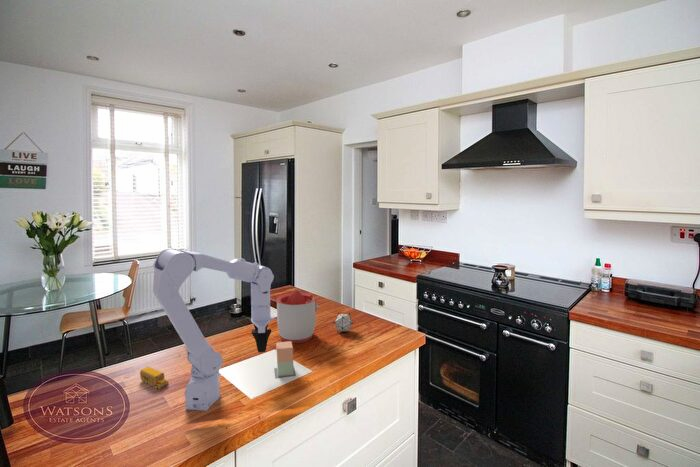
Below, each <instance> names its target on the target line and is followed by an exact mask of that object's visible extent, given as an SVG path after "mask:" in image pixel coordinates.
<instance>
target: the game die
mask: <svg viewBox="0 0 700 467" xmlns="http://www.w3.org/2000/svg"><path fill="white" fill-rule="evenodd" d="M332 323H333V324H334V325H335V327H336V329H337V331H336V334H338V333H339V332H344V333H345V332H347V333H348V334H350V329H351V327H352V325H354V324H355V322H353V321H352V318H351V312H349V313H339V312H337V317H336V318H335V320H334V321H332Z"/></svg>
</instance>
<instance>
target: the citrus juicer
mask: <svg viewBox="0 0 700 467" xmlns="http://www.w3.org/2000/svg"><path fill="white" fill-rule="evenodd" d="M275 301H276V322H277V330H278V333H279V336H280V339H281V340H282V342H288V341H291V342H292V344H301V343H302V344H303V343H306V342H308V341H310V340H311V339H312V337H313V335H314V333H315V332H314V331H315V327H316V319H317V318H316V317H317V316H316V312H317V310H321V307H320V306H319V305H318V303H317V298H314V299H313V294H312V293H309V292H301V291H298V290H294V291H293V292H289V293H284V294H280V295H278V296H277V297H276V299H275Z"/></svg>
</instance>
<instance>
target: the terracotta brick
mask: <svg viewBox="0 0 700 467" xmlns="http://www.w3.org/2000/svg"><path fill="white" fill-rule="evenodd" d="M275 344H276V346H275V348H276V349H275V350H276V356H277V363H281V362H290V361H293V360H294V347H293V343H292V342H291V341H288V342H285V341H280V342H275Z"/></svg>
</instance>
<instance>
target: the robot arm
mask: <svg viewBox="0 0 700 467" xmlns="http://www.w3.org/2000/svg"><path fill="white" fill-rule="evenodd" d="M152 266H153V270H154V274H153V285H152V286H153V287H152V291H153V292H152V293H153V294H154V296H155V298H156V299H157V301H158V302H159V304H160V306H161V308H162V310H163V311H164V313H165V314H166V316H167V317H168V319H169V321H170V323H171V324H172V325H173V327H174V329H175V331H176V332H177V335H178V336H179V338H180V339H181V341H182V342H183V344H184V348H185V351H186V358H187V362H188V363H189V364H191V369H190V379H189V382H188V383H187V385H186V386H185V389H184V403H185V410H190V411H192V410H194V411H208V410H209V408H210V407H211V406H212V405H213V404H214V403H216V402H217V401H218V400H219V399H220V397H221V386H220V385H221V384H220V373H219V370H220V369H221V368H222V366H223V363H224V359H223V355H222V354H220V353H219V352H217V351H215V349H214V348H213V346H212V345H211V344H210V343H209V341H208V340H207V339H206V338H205V336H204V335H203V332H202V331H201V329H200V328H199V325H198V324H197V322H196V321H195V319H194V316H193V315H192V313H191V312H190V310H189V308H188V306H187V305H186V303H185V301H184V299H183V298H182V295H181V294H180V293H179V290H180V289H181V286H182V284H183V283H184V282H185V281H186V280H187V279H188V278H189V277H190V275H191V274H192V273H193V271H194V272H198V271H199V270H201V269H209V270H213V271H219V272H222V273H223V272H224V273H226V275H227V276H228V278H229V279H233V280H237V281H241V282H245V283H250V306H251V308H250V309H251V311H250V312H251V315H250V316H251V318H250V322H251V323H252V325H253V326H254V329H251V335H252V336H253V338H254V340H255V343H256V349H257V352H258V353H266V352H267V346H268V340H269V337H270V335H272V334H271V333H272V329H271V328H269V329H268V326H269V324H270V322H271V321H275V316H274V315H271V288H272V287H271V284H272V283H273V281H274V278H275V275H274V274H273V272H272V269H270V268H269V267H268V266H264V265H260V264H259V263H258V262H256V261H255V262H253V263H252V262H249V261H246V259H245V258H242V257H238V258H233V259H232V260H230V261H229V260H228V261H227V260H225V259H220V258H217V257H214V256H211V255H207V254H204V253H201V252H197V251H193V250H192V251H191V250H190V251H189V250H183V249H179V250H178V249H176V248H172V247H171V248H165V249H163V250H162V251H161V252H159V253H158V255H157V257H156V258H155V260H154V263H153V265H152Z"/></svg>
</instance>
